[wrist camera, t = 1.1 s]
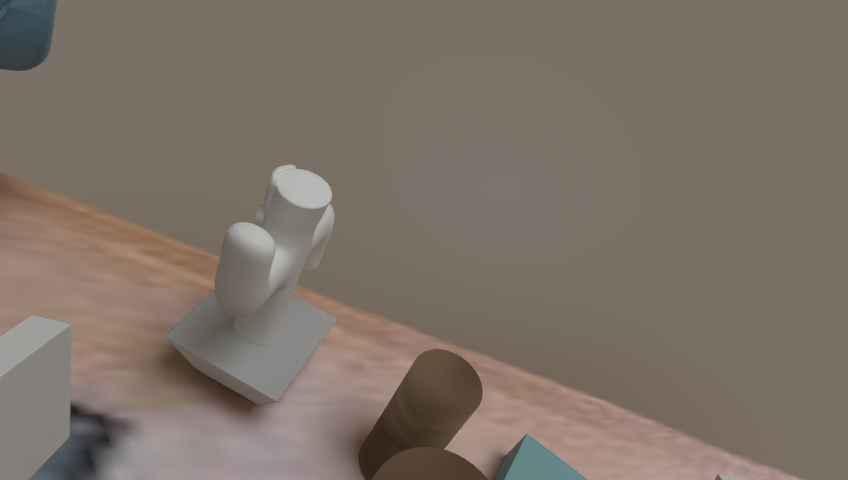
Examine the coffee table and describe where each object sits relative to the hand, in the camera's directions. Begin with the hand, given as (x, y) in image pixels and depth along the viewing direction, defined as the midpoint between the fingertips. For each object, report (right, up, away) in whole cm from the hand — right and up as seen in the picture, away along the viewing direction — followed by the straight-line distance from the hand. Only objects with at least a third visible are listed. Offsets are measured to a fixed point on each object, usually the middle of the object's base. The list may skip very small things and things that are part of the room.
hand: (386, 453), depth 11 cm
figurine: (-11, -4, +25) cm, 27 cm away
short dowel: (-1, -9, +23) cm, 25 cm away
